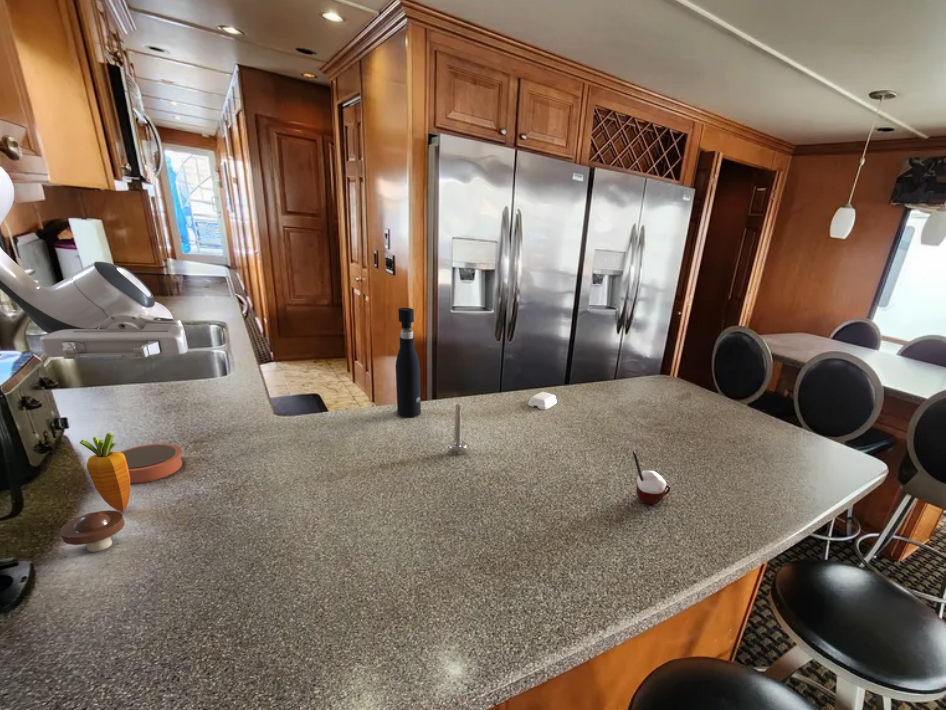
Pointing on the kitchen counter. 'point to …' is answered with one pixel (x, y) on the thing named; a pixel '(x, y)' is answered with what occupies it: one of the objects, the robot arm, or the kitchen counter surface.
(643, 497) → the cocoa
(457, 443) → the screw
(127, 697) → the kitchen counter surface
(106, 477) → the carrot
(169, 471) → the pot
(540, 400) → the soap
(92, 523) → the mushroom
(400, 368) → the black water bottle
